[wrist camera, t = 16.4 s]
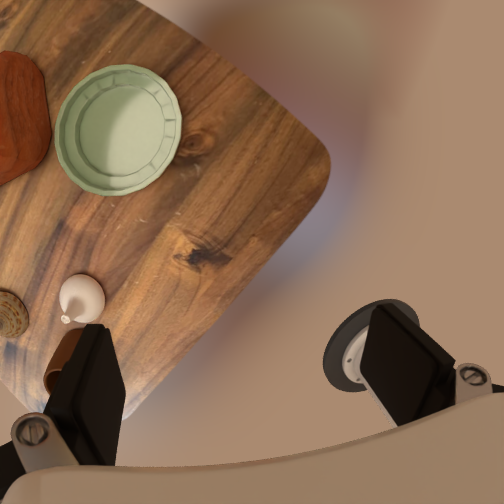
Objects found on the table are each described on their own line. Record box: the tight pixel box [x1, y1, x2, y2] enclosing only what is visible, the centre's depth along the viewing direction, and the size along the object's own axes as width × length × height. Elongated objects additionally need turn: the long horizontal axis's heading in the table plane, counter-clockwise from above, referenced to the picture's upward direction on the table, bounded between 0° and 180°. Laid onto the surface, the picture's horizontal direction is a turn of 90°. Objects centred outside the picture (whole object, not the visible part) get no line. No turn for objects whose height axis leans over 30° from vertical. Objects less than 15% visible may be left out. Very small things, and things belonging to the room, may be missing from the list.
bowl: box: [55, 64, 183, 196], centre depth 30 cm, size 14×14×4 cm
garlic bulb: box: [59, 274, 105, 324], centre depth 34 cm, size 6×6×8 cm
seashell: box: [0, 292, 29, 338], centre depth 35 cm, size 8×6×8 cm
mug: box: [43, 329, 84, 395], centre depth 36 cm, size 12×8×9 cm, turn 153°
